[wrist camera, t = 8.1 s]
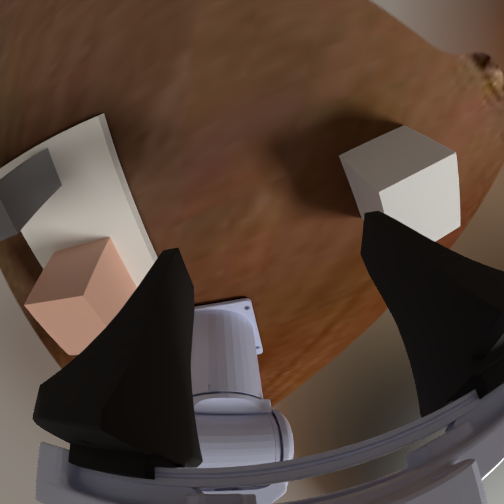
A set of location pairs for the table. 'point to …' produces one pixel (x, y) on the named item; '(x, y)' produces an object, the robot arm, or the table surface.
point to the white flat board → (74, 198)
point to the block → (80, 293)
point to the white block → (406, 181)
